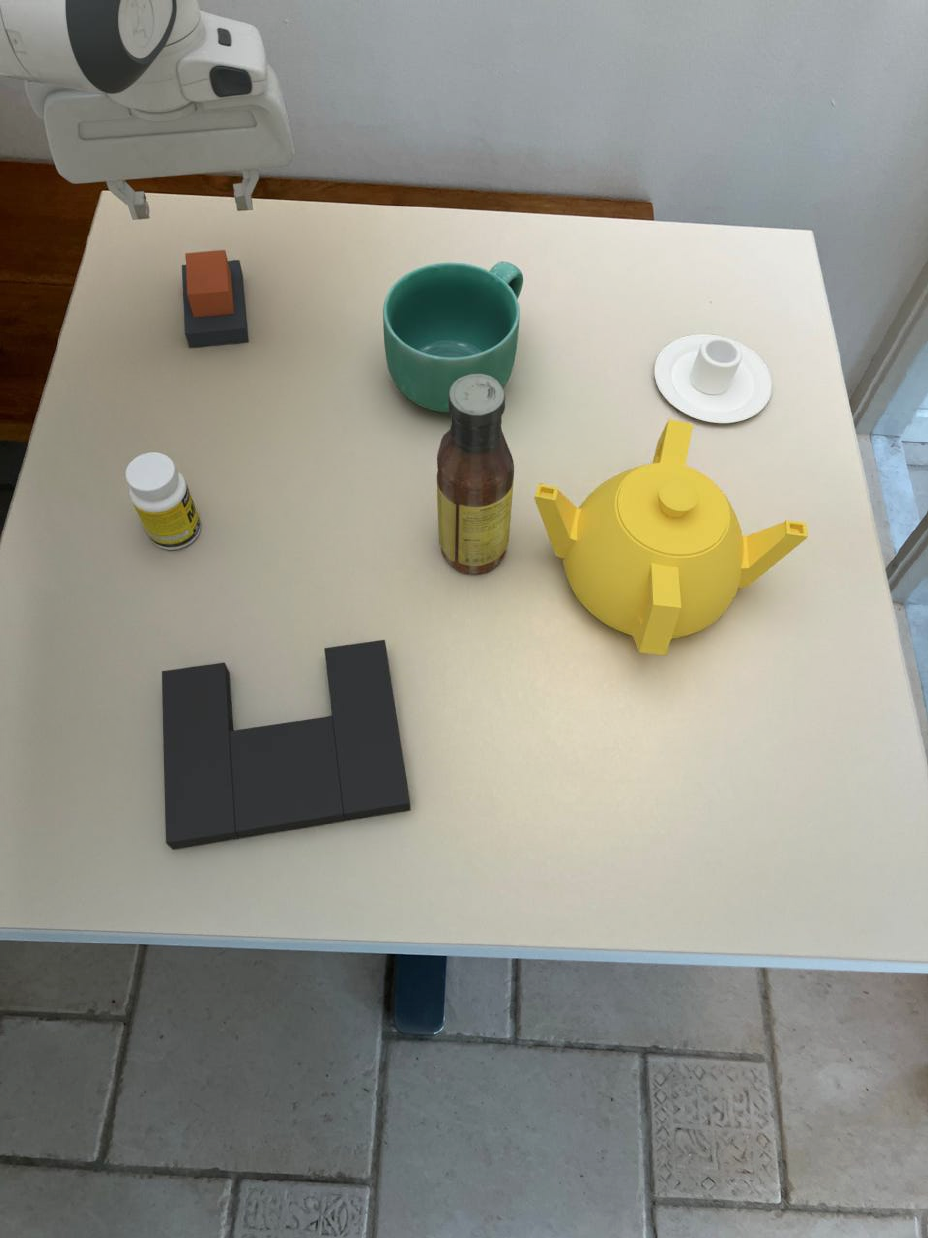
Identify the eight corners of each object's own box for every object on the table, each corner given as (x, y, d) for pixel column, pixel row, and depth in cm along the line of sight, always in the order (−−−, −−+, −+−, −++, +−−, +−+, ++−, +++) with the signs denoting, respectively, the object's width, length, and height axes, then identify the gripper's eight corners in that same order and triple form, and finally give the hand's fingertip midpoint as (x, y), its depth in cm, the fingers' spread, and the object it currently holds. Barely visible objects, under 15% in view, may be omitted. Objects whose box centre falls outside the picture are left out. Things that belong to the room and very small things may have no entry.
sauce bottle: (519, 539, 81) (545, 385, 63) (485, 589, 78) (502, 443, 60) (457, 507, 82) (466, 348, 64) (421, 556, 79) (421, 404, 62)
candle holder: (774, 352, 93) (789, 321, 89) (764, 439, 87) (779, 409, 84) (661, 329, 94) (671, 296, 90) (644, 412, 88) (654, 382, 85)
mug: (449, 451, 85) (452, 381, 77) (360, 380, 89) (353, 306, 80) (562, 362, 91) (576, 288, 83) (473, 299, 95) (478, 223, 87)
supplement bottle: (207, 542, 79) (185, 485, 72) (154, 557, 78) (126, 501, 71) (194, 501, 81) (171, 441, 74) (143, 515, 80) (114, 456, 73)
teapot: (655, 469, 85) (687, 380, 74) (778, 593, 79) (833, 516, 68) (516, 552, 80) (530, 469, 69) (636, 692, 74) (672, 625, 63)
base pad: (172, 850, 66) (165, 843, 64) (167, 681, 73) (161, 670, 71) (410, 810, 68) (410, 803, 67) (385, 649, 75) (384, 639, 73)
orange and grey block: (189, 348, 90) (177, 309, 86) (186, 279, 95) (174, 240, 90) (249, 342, 91) (240, 304, 86) (242, 274, 95) (234, 235, 91)
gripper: (12, 90, 67) (76, 243, 79) (283, 71, 69) (305, 223, 82) (17, 42, 70) (78, 197, 82) (277, 26, 72) (299, 179, 85)
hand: (193, 210), depth 82 cm, fingers open, 8 cm apart
